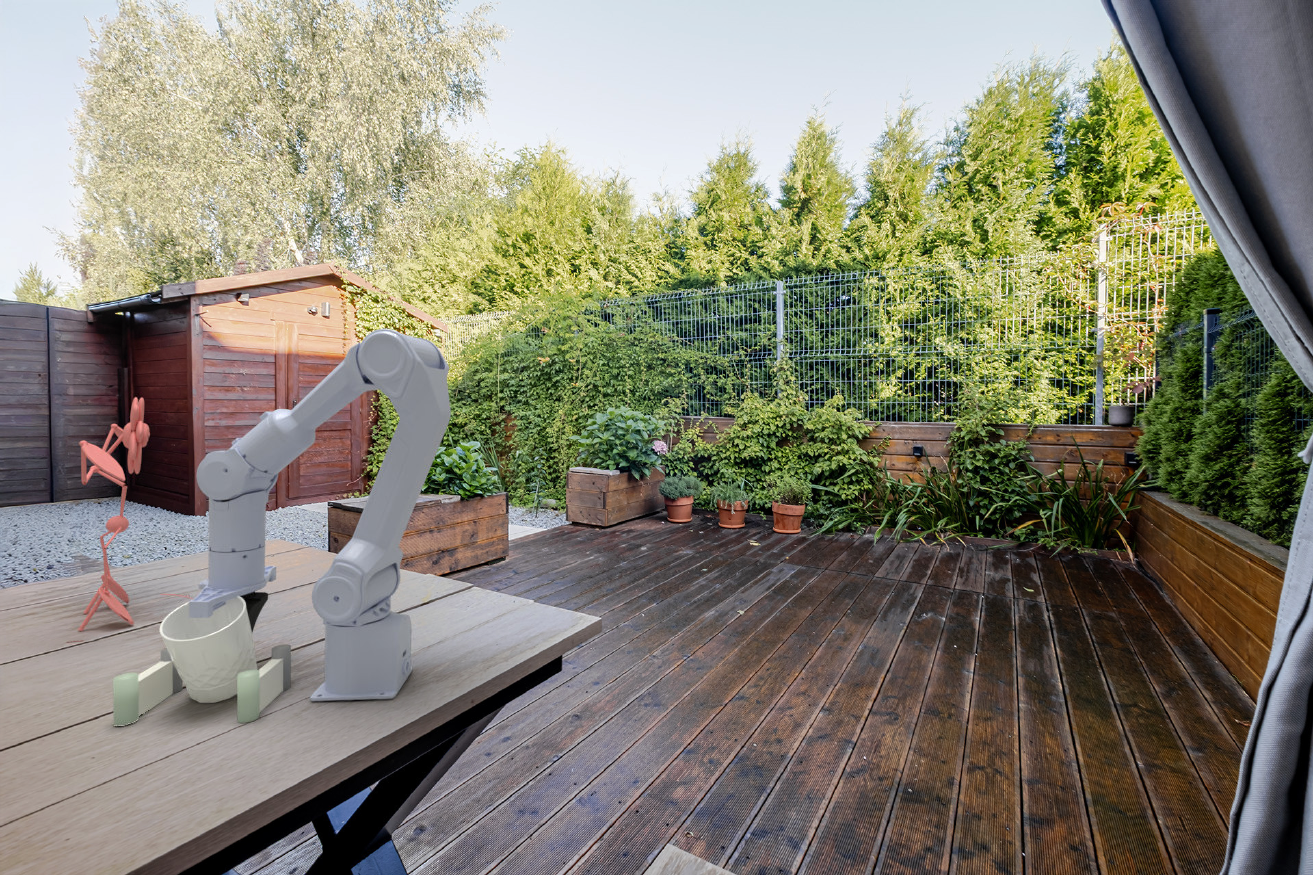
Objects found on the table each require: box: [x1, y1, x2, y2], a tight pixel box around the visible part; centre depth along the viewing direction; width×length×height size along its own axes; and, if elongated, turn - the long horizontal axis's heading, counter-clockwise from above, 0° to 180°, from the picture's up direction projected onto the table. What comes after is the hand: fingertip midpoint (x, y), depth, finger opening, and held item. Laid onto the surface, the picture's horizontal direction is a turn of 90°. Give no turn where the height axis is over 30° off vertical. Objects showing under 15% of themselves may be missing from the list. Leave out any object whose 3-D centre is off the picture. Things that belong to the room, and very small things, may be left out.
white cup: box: [158, 596, 259, 704], centre depth 68 cm, size 8×8×10 cm
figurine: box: [66, 396, 194, 644], centre depth 93 cm, size 15×26×35 cm, turn 41°
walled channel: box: [112, 643, 292, 726], centre depth 67 cm, size 14×9×5 cm, turn 97°
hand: (236, 654), depth 73 cm, fingers closed, pressing on white cup
